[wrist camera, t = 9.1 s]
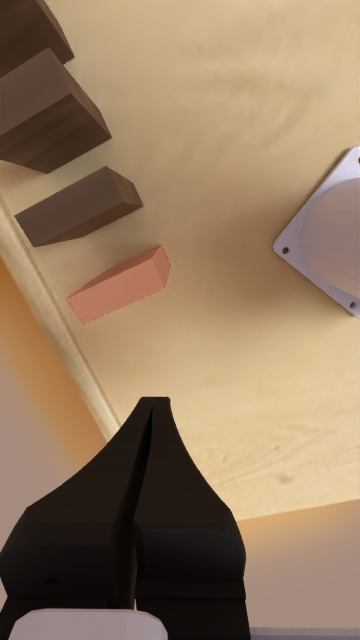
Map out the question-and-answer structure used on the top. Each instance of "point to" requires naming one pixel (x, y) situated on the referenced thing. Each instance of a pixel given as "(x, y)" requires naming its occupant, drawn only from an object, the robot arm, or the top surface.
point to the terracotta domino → (121, 285)
